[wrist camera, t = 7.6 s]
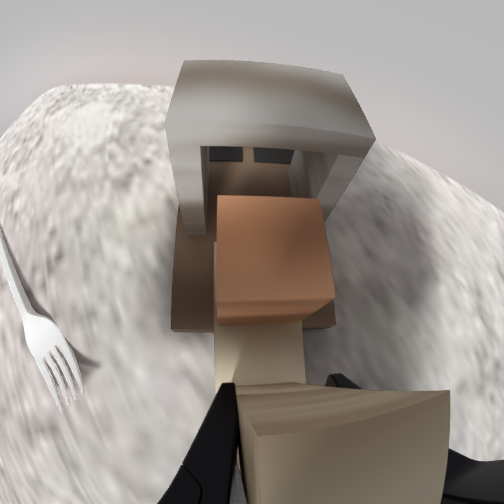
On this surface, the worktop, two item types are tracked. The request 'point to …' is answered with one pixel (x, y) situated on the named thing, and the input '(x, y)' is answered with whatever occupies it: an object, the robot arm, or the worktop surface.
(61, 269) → the worktop surface
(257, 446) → the beige orange stepped block
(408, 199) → the worktop surface
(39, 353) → the fork
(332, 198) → the tunnel
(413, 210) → the worktop surface
